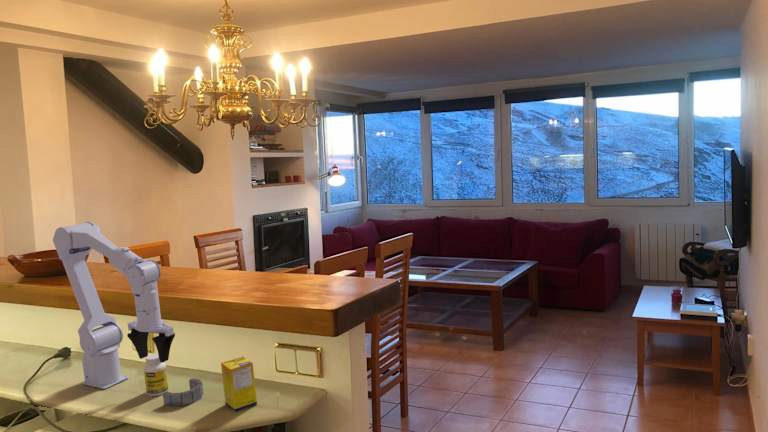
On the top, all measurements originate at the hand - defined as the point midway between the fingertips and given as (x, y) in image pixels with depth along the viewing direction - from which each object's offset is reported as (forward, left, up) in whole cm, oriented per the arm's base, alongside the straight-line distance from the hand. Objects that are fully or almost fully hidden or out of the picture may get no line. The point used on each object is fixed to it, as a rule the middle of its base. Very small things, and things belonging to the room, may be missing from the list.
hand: (154, 359), depth 162 cm
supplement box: (+26, +2, -9) cm, 28 cm away
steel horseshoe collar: (+11, 0, -9) cm, 14 cm away
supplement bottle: (0, 0, -9) cm, 9 cm away
